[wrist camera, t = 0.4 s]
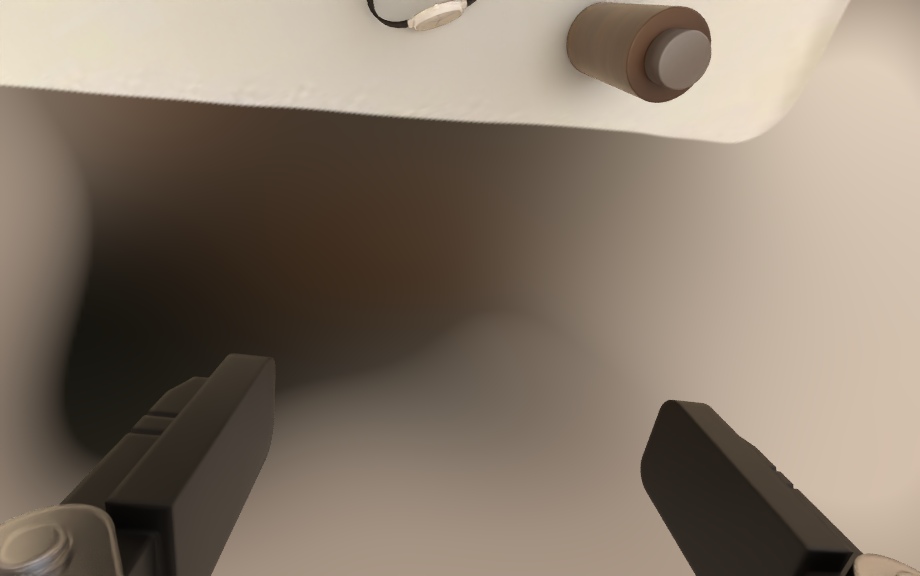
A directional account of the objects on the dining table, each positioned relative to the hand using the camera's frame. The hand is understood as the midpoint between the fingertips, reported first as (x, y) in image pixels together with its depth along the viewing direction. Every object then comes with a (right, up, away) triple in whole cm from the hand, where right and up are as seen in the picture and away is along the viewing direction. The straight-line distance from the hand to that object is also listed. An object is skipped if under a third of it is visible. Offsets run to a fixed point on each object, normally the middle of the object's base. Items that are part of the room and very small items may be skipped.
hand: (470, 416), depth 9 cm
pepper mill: (+9, +20, +22) cm, 31 cm away
